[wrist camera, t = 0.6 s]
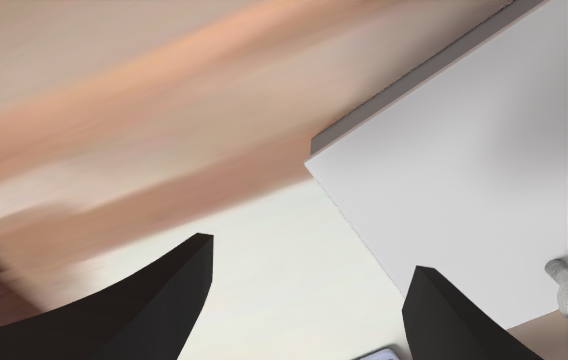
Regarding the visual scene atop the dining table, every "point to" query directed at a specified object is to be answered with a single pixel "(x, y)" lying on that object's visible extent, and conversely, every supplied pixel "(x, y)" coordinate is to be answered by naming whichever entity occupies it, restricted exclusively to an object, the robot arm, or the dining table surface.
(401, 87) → the grey shallow tray
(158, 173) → the dining table surface
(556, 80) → the lid
